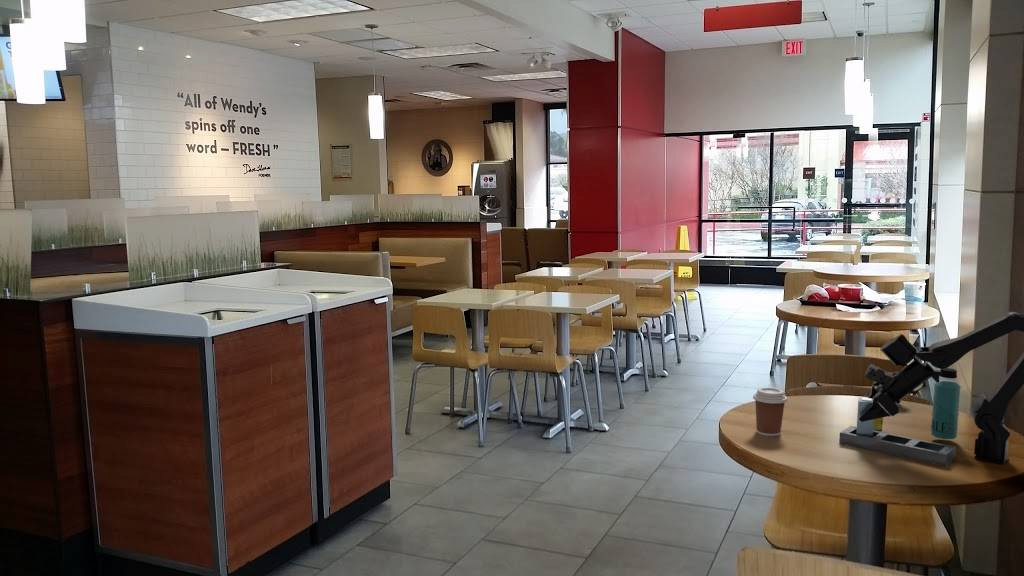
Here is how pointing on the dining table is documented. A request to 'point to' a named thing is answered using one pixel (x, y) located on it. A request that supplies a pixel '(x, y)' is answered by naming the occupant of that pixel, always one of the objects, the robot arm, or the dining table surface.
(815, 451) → the dining table surface
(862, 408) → the light blue tall block
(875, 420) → the supplement bottle
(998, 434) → the robot arm
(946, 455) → the grey slotted rack
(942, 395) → the beverage bottle
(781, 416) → the coffee cup
